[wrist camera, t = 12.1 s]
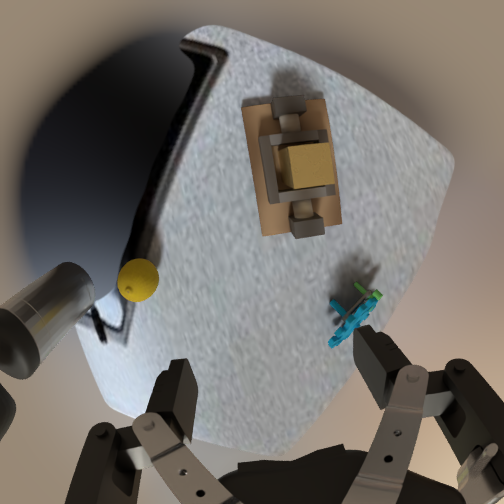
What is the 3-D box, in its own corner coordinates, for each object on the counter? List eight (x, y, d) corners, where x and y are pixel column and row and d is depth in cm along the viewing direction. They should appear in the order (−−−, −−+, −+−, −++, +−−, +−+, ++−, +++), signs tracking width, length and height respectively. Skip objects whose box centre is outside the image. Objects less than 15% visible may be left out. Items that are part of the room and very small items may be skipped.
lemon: (126, 255, 40) (103, 275, 32) (158, 248, 40) (140, 267, 32) (137, 289, 41) (117, 313, 34) (169, 283, 41) (154, 308, 34)
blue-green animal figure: (338, 351, 44) (328, 351, 35) (315, 327, 47) (300, 320, 39) (385, 303, 43) (386, 291, 35) (360, 281, 46) (356, 263, 38)
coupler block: (282, 183, 36) (294, 189, 27) (277, 151, 35) (287, 146, 26) (313, 179, 36) (334, 183, 27) (309, 147, 35) (329, 142, 26)
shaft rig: (262, 234, 39) (265, 246, 34) (241, 109, 34) (240, 99, 29) (338, 222, 39) (353, 231, 33) (321, 101, 34) (334, 91, 28)
